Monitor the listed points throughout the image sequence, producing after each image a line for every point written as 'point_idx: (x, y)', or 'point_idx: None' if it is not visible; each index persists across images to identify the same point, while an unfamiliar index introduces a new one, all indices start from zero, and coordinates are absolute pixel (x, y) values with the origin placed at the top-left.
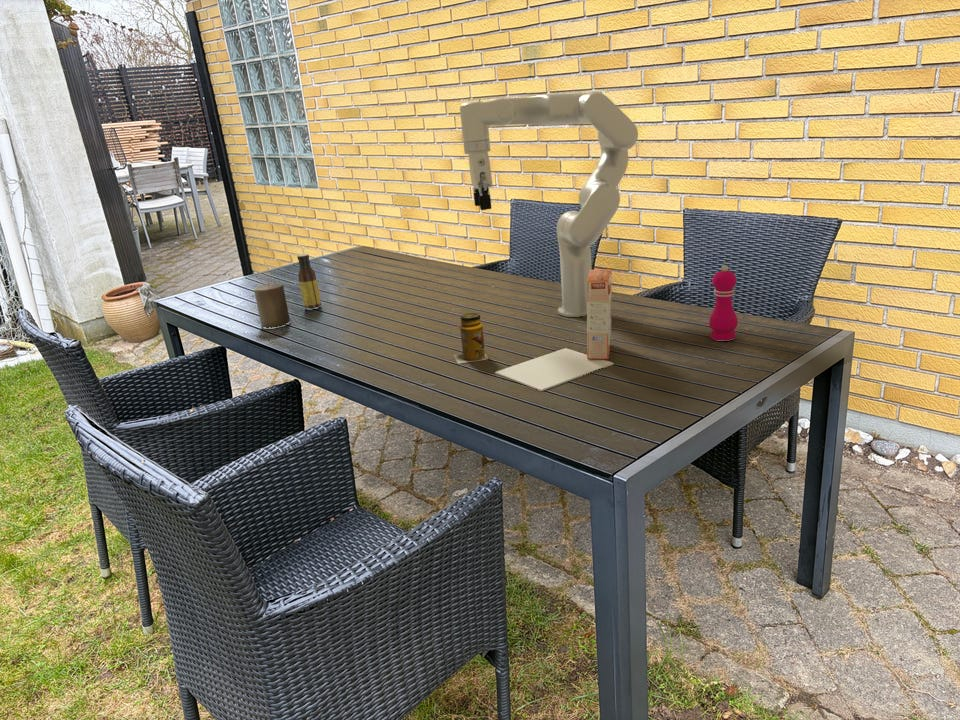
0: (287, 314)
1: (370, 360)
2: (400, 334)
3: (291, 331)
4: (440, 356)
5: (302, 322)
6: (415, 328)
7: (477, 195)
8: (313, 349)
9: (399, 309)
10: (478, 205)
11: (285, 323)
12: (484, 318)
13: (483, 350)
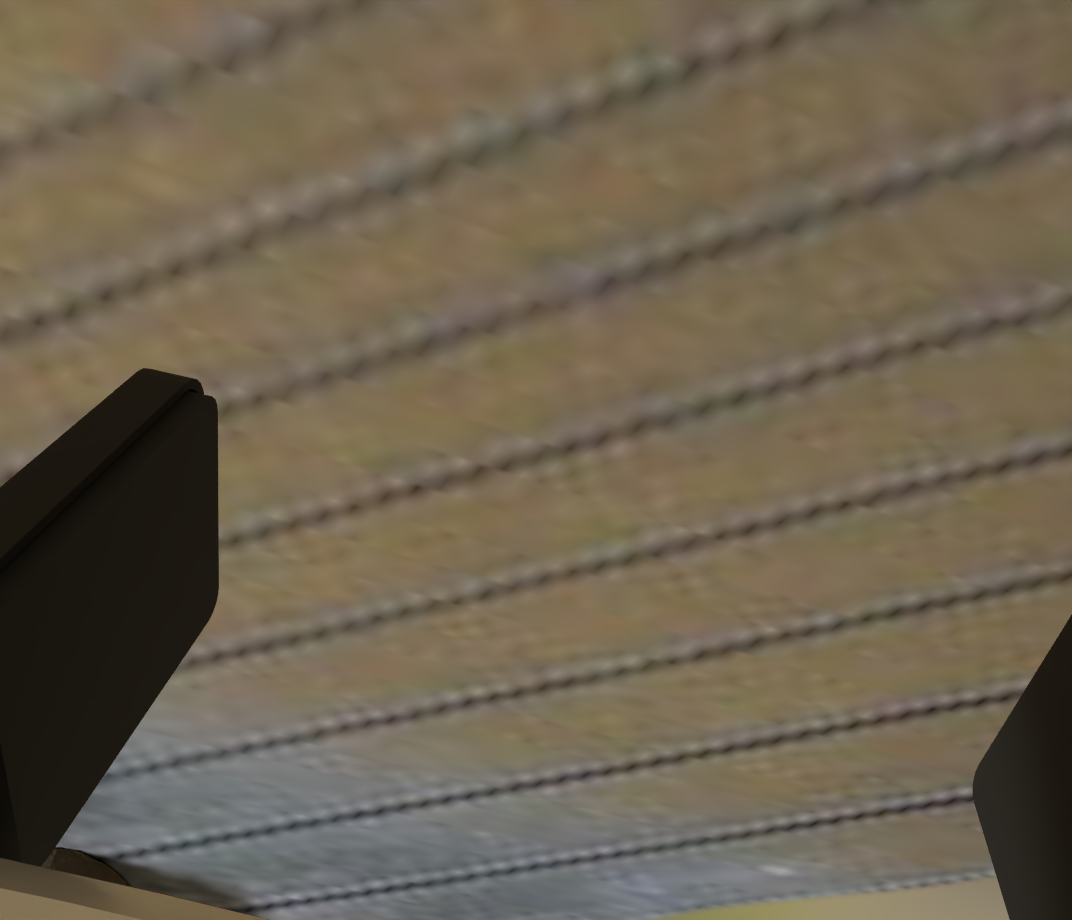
0: None
1: (817, 781)
2: (515, 585)
3: (196, 871)
4: (1025, 558)
5: (76, 817)
6: (454, 498)
7: (70, 749)
8: (504, 877)
9: (23, 449)
10: (216, 548)
11: (105, 880)
12: (497, 81)
13: None
